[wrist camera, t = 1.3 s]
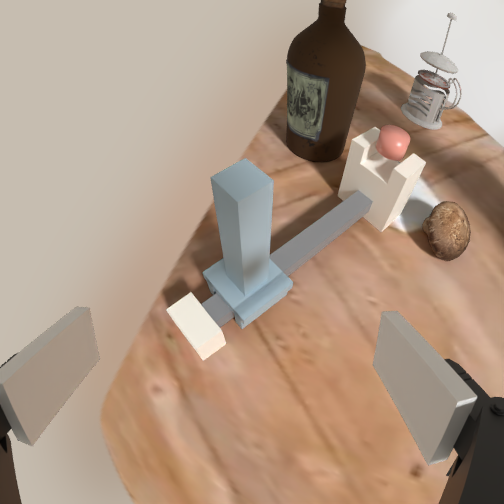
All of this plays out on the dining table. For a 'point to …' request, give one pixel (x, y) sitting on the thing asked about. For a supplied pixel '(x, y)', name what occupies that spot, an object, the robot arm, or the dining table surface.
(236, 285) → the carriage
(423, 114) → the french press
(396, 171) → the slide rail
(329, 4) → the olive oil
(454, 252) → the mushroom
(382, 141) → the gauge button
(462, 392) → the robot arm
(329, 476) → the dining table surface
